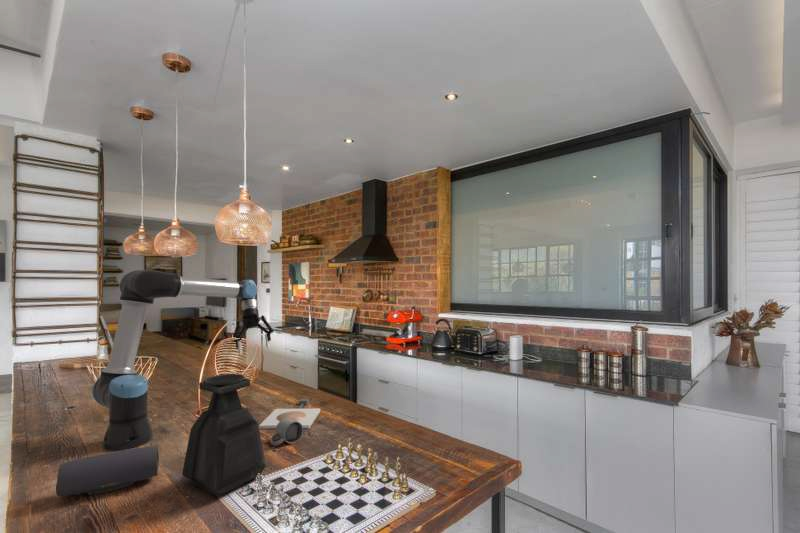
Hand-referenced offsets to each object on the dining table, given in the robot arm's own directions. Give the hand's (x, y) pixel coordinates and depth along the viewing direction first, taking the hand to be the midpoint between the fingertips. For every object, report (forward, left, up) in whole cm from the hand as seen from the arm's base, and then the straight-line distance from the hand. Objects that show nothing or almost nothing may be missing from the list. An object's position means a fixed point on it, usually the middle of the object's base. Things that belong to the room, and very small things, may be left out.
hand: (254, 351), depth 190 cm
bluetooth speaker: (-77, +11, -25) cm, 82 cm away
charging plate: (-18, -25, -25) cm, 39 cm away
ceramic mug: (-46, -29, -25) cm, 60 cm away
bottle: (-73, -20, -25) cm, 80 cm away
